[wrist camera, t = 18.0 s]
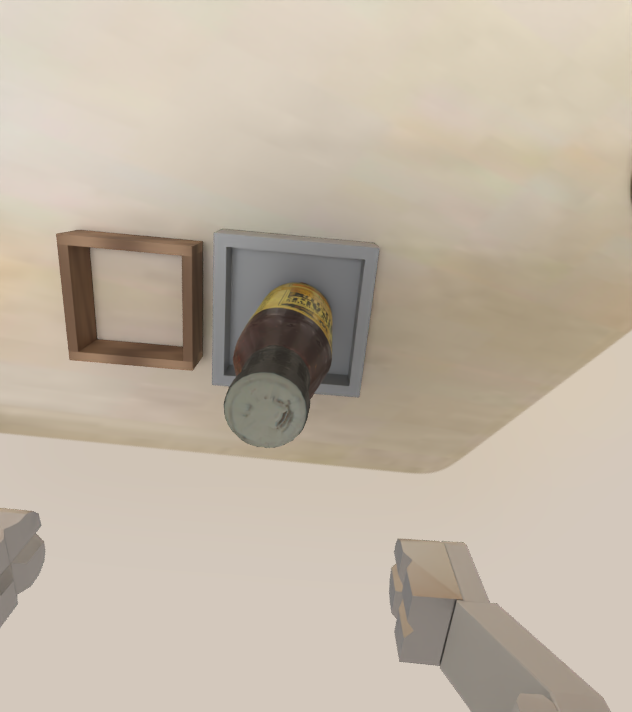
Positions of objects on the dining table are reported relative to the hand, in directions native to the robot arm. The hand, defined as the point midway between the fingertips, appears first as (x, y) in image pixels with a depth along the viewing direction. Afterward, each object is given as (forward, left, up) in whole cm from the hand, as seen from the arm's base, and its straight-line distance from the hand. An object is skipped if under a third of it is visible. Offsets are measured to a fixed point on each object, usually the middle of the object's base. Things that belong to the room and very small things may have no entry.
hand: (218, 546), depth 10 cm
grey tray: (0, +3, -32) cm, 32 cm away
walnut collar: (+13, +3, -32) cm, 34 cm away
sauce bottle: (0, +3, -31) cm, 31 cm away
